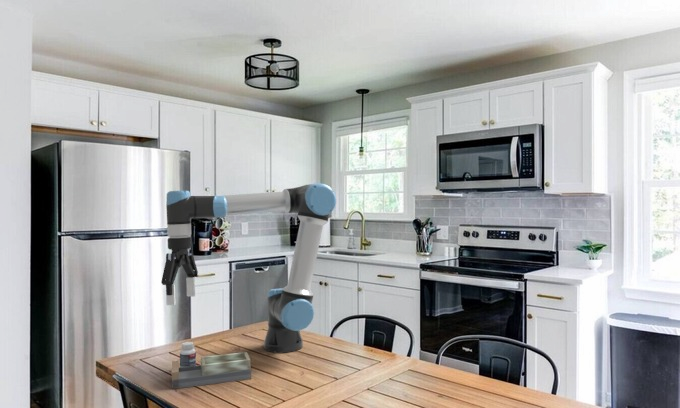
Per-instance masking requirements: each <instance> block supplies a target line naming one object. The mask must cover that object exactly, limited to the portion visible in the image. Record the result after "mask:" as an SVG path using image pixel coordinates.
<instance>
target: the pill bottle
mask: <svg viewBox="0 0 680 408" xmlns="http://www.w3.org/2000/svg"><path fill="white" fill-rule="evenodd" d="M189 366H197V352H196V349H195V343H194V342H193V341H186V342H183V343H181V350H180V352H179V368H181V367H189Z"/></svg>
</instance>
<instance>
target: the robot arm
mask: <svg viewBox="0 0 680 408" xmlns="http://www.w3.org/2000/svg"><path fill="white" fill-rule="evenodd" d="M165 202H166V206H165V207H166V224H167V227H166V230H167V237H168V239H167V249H168V250H171V253H170V252H169V253H167V252H166V254H165V263H164V268H163V273H162V277H161V278H162V279H161V284H162V286H165V296H166V306H176V304H177V303H176V284H174V283H175V280H176V277H177V274H178V272H179V268H181V266H182V267H183V271H184V272H185V274H186V276H187V277H185V279H186V280H185V282H186V297H196V286H195V284H196V282H195V281H196V280H195V279H196V278H198V276H199V272H198V269H197V264H196V260H195V257H194V251H193V248H192V237H191V235H192V219H212V218H213V219H215V218H216V219H218V218H224V217H226V216H235V215H248V214H258V213H259V214H261V213H272V212H273V213H275V212H285V214H297V218H298V219H299V221H300V222H299V226H298V227H299V228H298V231H297V236H296V241H295V247H294V251H293V252H294V253H293V256H292V262H291V265H290V266H291V267H290V271H289V276H288V280H287V285H285V286H284V287H281V288H272V289H270V290H268V292H267V293H268V294H267V298H266V299H267V319H268V320H267V321H268V323H267V325H268V326H267V331H266V335H265V337H264V341H263V348H264V350H265V351H267V352H271V353H290V352H294V351H295V352H296V351H299V350H301V349H302V348H303V346H304V345H303V337H302V334H301V332H300V331H302V330H304V329H306V328H307V327H309V325H311V324H312V322H313V320H314V316H315V310H314V309H315V308H314V307H313V304H312V303H313V299H314V293H313V291H312V290H311V287H312V283H313V278H314V274H315V268H316V263H317V258H318V252H319V248H320V242H321V238H322V232H323V228H324V225H326V224H328V222H329V218H330V214H331V213H332V212H333V211H334V209H335V208H336V205H337V196H336V193H335V192H334V190H333V189H332V187H330V186H329V185H327V184H325V183H319V182H316V183H311V184H304V185H300V186H297V187H292V188H291V187H290V188H285V189H283V190H282V191H273V192H272V191H270V192H259V193H257V192H256V193H243V194H241V193H240V194H227V195H225V194H224V195H201V196H196V195H195V196H194V195H191V192H190V191H189V190H169V191H168V192H167V193H166V201H165Z"/></svg>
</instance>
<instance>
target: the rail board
mask: <svg viewBox="0 0 680 408" xmlns="http://www.w3.org/2000/svg"><path fill="white" fill-rule="evenodd" d="M251 379H252V370H245V371H237V372H229V373H221V374H213V375H205V376H202V372H201V364H200V365H199V364H198V365H196V366H189V367H181V368H180V360H176V361H175V360H174V361H173V360H172V362H171V389H172V390H174V389H175V390H176V389H182V388H192V387H197V386H198V387H200V386H205V385H212V384H214V385H215V384H219V383H228V382H236V381H244V380H251Z"/></svg>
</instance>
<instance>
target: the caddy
mask: <svg viewBox="0 0 680 408" xmlns="http://www.w3.org/2000/svg"><path fill="white" fill-rule="evenodd" d="M200 365H201V372H202V376H205V375H213V374H221V373H229V372H237V371H245V370H251V357H250V356H249V354H248V352H247V351H241V352H233V353H224V354H216V355H208V356H207V355H206V356H201V357H200ZM251 371H252V370H251Z"/></svg>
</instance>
